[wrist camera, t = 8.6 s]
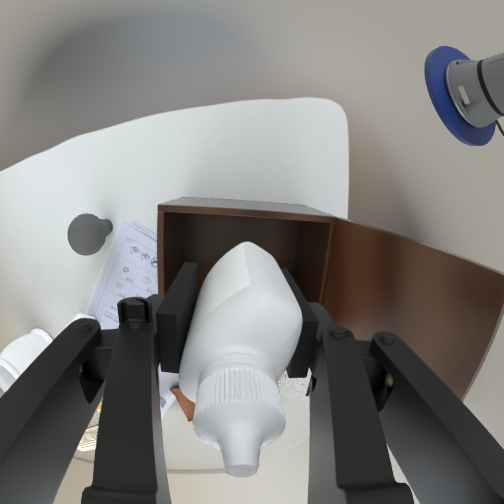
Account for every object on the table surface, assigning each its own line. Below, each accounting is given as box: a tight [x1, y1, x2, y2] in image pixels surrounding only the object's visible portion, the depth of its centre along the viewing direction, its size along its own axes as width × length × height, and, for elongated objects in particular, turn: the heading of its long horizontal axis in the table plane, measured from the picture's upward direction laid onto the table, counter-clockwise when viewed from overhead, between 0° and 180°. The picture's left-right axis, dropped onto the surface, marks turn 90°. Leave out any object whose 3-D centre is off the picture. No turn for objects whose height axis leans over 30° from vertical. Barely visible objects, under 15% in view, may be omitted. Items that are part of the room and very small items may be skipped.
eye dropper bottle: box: [179, 242, 303, 477], centre depth 10 cm, size 4×6×12 cm
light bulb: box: [68, 214, 113, 256], centre depth 34 cm, size 6×6×10 cm
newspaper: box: [77, 425, 98, 451], centre depth 50 cm, size 24×7×2 cm, turn 123°
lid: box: [323, 218, 504, 402], centre depth 19 cm, size 19×13×1 cm
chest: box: [157, 197, 338, 306], centre depth 34 cm, size 18×13×14 cm
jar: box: [0, 328, 53, 392], centre depth 36 cm, size 11×10×15 cm
